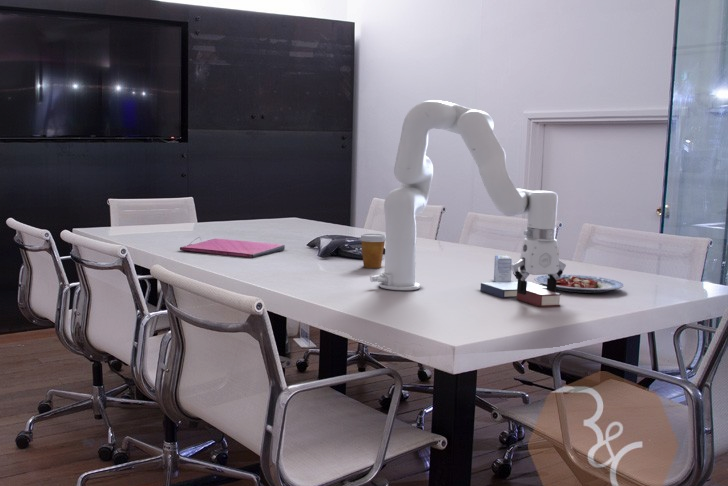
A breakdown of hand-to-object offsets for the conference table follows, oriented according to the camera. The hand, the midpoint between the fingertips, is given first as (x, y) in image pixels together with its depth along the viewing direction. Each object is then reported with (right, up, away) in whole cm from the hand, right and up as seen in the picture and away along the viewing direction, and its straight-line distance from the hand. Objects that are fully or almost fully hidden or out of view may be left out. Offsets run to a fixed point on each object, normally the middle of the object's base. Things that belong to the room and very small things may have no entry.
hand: (536, 293), depth 220 cm
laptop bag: (-88, +10, +107) cm, 139 cm away
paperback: (0, -3, 0) cm, 3 cm away
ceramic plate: (+23, 0, +23) cm, 32 cm away
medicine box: (+2, +1, +32) cm, 32 cm away
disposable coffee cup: (-35, +5, +64) cm, 73 cm away
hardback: (-1, -1, +14) cm, 14 cm away
